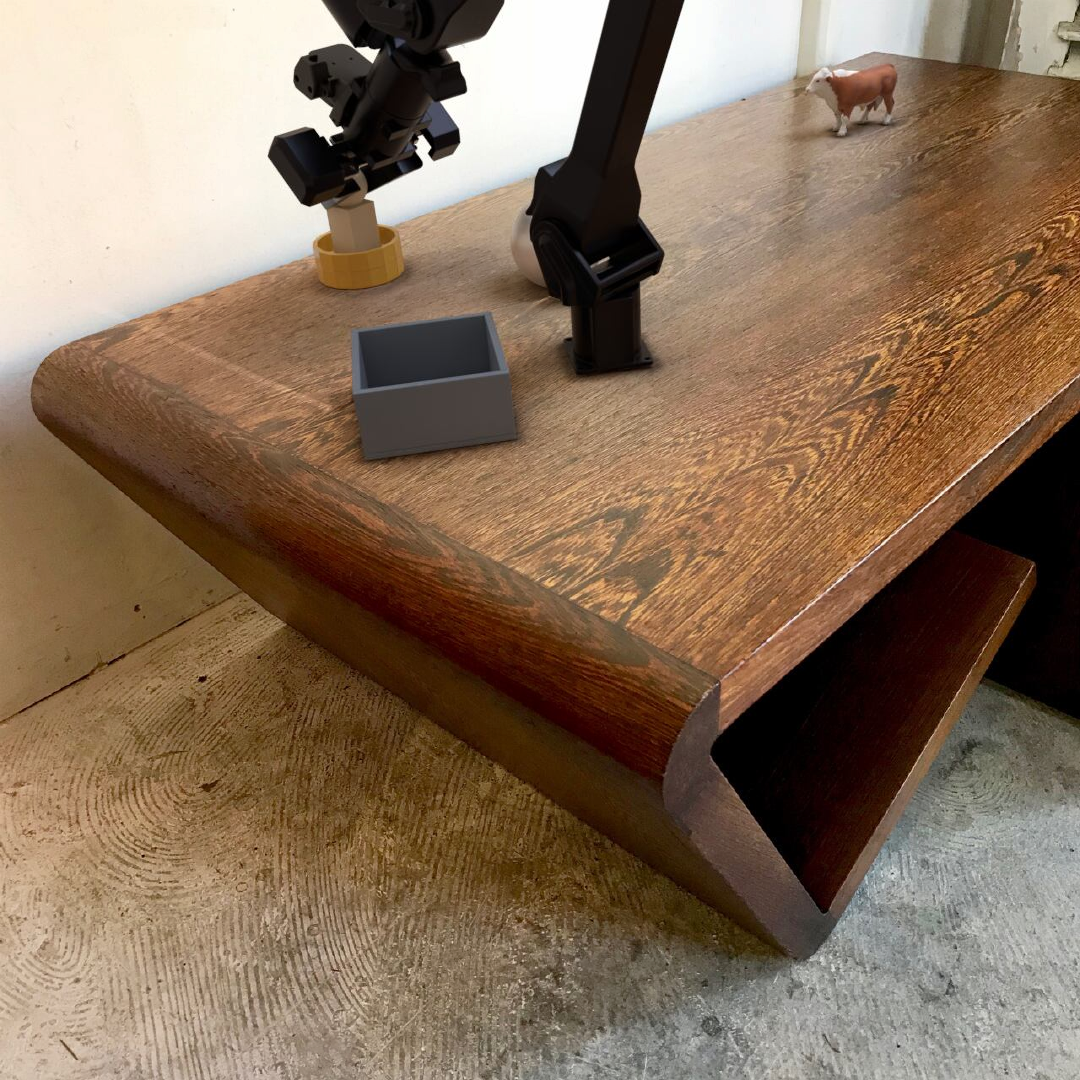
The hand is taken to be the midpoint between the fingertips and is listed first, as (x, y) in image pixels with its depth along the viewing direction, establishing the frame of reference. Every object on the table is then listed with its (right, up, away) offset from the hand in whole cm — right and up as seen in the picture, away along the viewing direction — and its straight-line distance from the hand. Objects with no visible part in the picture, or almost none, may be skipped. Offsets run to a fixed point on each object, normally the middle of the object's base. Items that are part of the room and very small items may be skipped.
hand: (340, 199), depth 103 cm
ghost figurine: (+22, -9, -2) cm, 24 cm away
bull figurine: (+60, +20, +34) cm, 71 cm away
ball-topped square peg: (+1, -5, +3) cm, 6 cm away
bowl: (+2, -7, +4) cm, 8 cm away
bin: (+11, -24, -21) cm, 34 cm away
